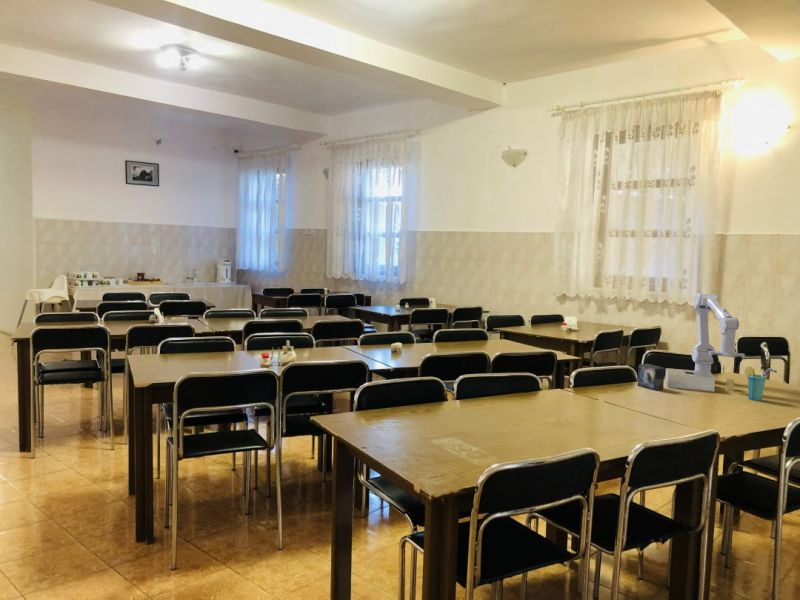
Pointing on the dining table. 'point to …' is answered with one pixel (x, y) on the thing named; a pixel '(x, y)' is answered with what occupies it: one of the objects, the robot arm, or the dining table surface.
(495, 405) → the dining table surface
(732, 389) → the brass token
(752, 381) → the cup
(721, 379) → the dining table surface
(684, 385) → the cash box
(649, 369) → the small box
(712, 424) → the dining table surface
